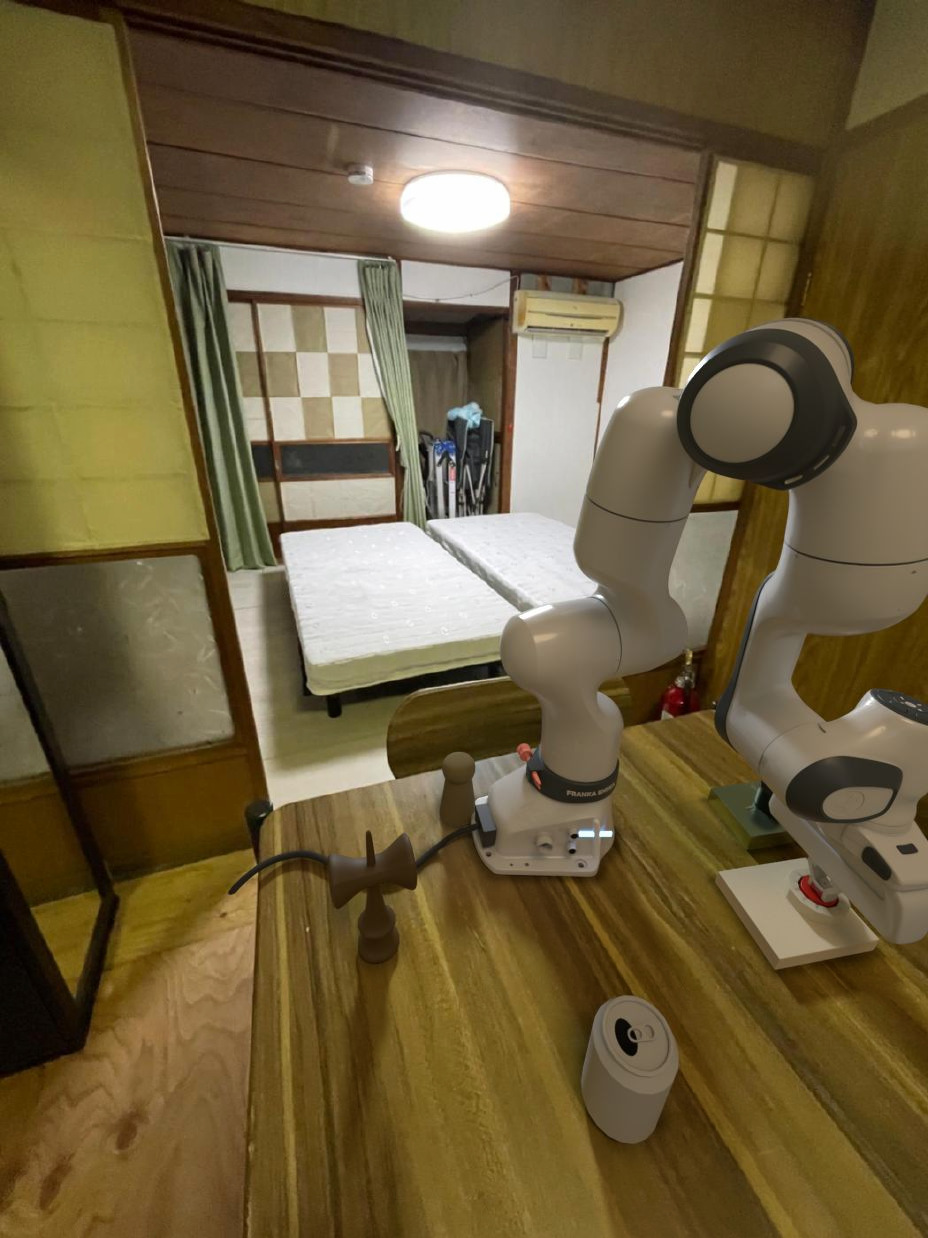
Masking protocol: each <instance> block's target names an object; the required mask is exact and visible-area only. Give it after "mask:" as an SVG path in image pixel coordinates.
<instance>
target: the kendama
mask: <svg viewBox="0 0 928 1238" xmlns="http://www.w3.org/2000/svg"><path fill="white" fill-rule="evenodd" d="M365 855H366V856H363V857H351V856H347V855H343V854H339V853H334V852H331V853H329V854H328V856H327V858H328V861H327V866H326V869H327V880H328V889H329V894H330V898H331V903H332V905H333V907H334V908H335V910H340V909H342V908H343V907H344V906H345V905H347V904H348V903H349V902H350V901H351V900H352V899H353V898H355V896H357V895H358V894H359V893H361V892H363V891H364V890H366V900H365V907H364V910H362V911H361V912H360V913H359V916H358V918H357V929H358V931H359V936H358V938H357V949H358V952H359V955H360V957H361V958H362V959H363V960H364V961H365V962H367V963H371V964H379V963H384V962H385V961H388V960H390V959H391V958H392V957H393V956H394V955H395V954H396V953H397V952H398V949H399V946H400V933H399V930H398V928H397V926H395V925H396V923H397V921H396V920H397V918H396V913H395V910H394V909H393V907H391V906H390V905H389V904H386V901H385V899H384V895H383V892H382V888H381V885H385V884H390V885H394V886H397V887H400V888H403V889H406V890H409V891H414V890H416V889H417V887H418V868H417V869H416V863H415V862H416V857H415V853H414V849H413V845H412V842H411V839H410V837H409V836H408V834H407V833H406V832H402V833H401V834H400V835H399V836H398V837H396V838H395V840H394V841H392V842H391V843H390V845H388V847H386V848H385V849H384V850H383V851H381V852H378V853H375V846H374V840H373V835H372V832H371V830H369V829H368V830H366V831H365Z"/></svg>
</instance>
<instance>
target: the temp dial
mask: <svg viewBox="0 0 928 1238" xmlns="http://www.w3.org/2000/svg"><path fill="white" fill-rule="evenodd" d="M760 781H761V782H760V785H759V787H758V790H757V793H756V796H755V803H756V805H757V806H758V807H759V808H760V809H761V810H763V811H764V812H766V813H768V814H771V812H770V808H769V801H770V799H771V797H772V795H773V792H772V791H771V789H770V788H769V787H768V786H767V785H766V784H765V783H764V782H763V781H762V780H761V779H760ZM771 815H772V814H771Z"/></svg>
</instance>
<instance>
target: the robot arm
mask: <svg viewBox="0 0 928 1238" xmlns="http://www.w3.org/2000/svg"><path fill="white" fill-rule="evenodd" d="M854 376H855V358H854V353H853V350H852V347H851V345H850V342H849V341H848V340H847V338H846V337H845V336H844V334H843V332H841V331H840V330H839V329H838V328H836V327H835V326H833V325H831V324H830V323H829V322H825V321H824V320H821V319H817V318H813V317H785V318H777V319H772V320H767V321H764V322H761V323H759V324H756V325H753V326H752V327H750V328H747V329H746V330H744V331H743V332H741V333H739V334H736V335H734V336H732V337H730V338H728V339H727V340H725V341H723V342H721V343H720V344H718V345H717V346H716V347H714V348H713V349H712V350H711V351H709V352H708V353H707V354H706V355H705V356H704V357H703V358H702V359H701V361H699V362H698V364H696V367H694V369H693V370H692V372H691V373H690V374H689V376H688V378H687V380H686V381H685V383H684V386H683V387H682V388H678V387H672V386H662V385H660V386H658V385H657V386H650V387H645V388H640V389H638V390H635V391H633V392H631V393H629V394H628V395H626V396H625V397H623V399H621V400H620V402H619V403H618V404H617V405H616V407H615V409H614V410H613V412H612V414H611V416H610V418H609V420H608V422H607V425H606V428H605V429H604V432H603V435H602V437H601V440H600V443H599V445H598V448H597V451H596V453H595V456H594V459H593V463H592V466H591V468H590V471H589V475H588V479H587V483H586V487H585V491H584V495H583V500H582V504H581V508H580V512H579V517H578V521H577V525H576V529H575V533H574V537H573V542H572V553H573V558H574V559H575V560H574V561H575V563H576V565H577V567H578V569H579V570H580V571H581V572H582V574H583V575H584V576H585V577H587V578H588V579H589V580H591V581H592V582H594V583H595V584H597V587H596V589H595V591H594V592H593V593H592V594H591V595H590V596H587V597H582V598H575V599H570V600H563V601H556V602H549V603H544V604H539V605H537V606H535V607H532V608H530V609H527V610H525V611H522V612H520V613H517V614H515V615H512V616H511V617H510V618H508V619H507V621H506V623H505V625H504V627H503V629H502V631H501V635H500V638H499V645H498V648H499V657H500V661H501V665H502V667H503V669H504V671H505V673H506V675H507V676H508V677H509V678H510V680H511V681H512V682H513V683H514V684H515V685H516V686H517V687H519V688H520V689H522V690H524V691H525V692H528V693H530V694H531V695H532V696H533V697H535V699H536V700H537V701H538V703H539V706H540V709H541V735H540V736H541V737H540V743H539V744H538V746H537V747H536V749H535V750H534V752H532V750H531V746H530V745H529V744H528V743H520V744H519V745H518V746H517V748H516V752H517V755H519V759H520V760H521V761H522V762H526V763H525V764H523V765H522V766H520V767H518V768H517V769H515V770H513V771H511V772H509V773H508V774H506V775H505V776H503V777H501V778H499V779H497V780H496V781H495V782H493V783H492V785H491V786H490V787H489V791H488V793H487V795H484V796H481V797H478V798H477V799H475V812H474V813H473V814H472V815H471V822H470V824H468V825H466V826H463V827H461V828H459V829H458V828H457V829H456V830H453V831H452V832H450V833H449V834H447V835H446V836H444V837H443V838H442V839H441V840H439V842H437V843H436V844H434V845H433V846H432V847H430V848H429V849H428V850H427V851H426V852H425V853H424V854H422V855H421V856H420V857H419V858H418V859H417V860H415V863H416V869H417V870H418V869H419V868H420V867H422V865H423V864H424V863H426V862H427V861H428V860H429V859H430V858H431V857H433V856H434V855H435V854H436V853H438V852H439V851H441V850H442V849H443V848H444V847H445V846H447V845H448V844H449V843H450V842H452V841H453V840H455V839H457V838H459V837H461V836H464V835H467V834H468V833H471V836H472V839H473V844H474V847H475V849H476V853H477V854H478V856H479V858H480V860H481V861H482V863H483V864H484V865H485V866H486V867H487V868H488V870H490V871H491V872H492V873H493V874H495V875H505V876H507V875H509V876H510V875H511V876H543V877H544V876H546V877H547V876H548V877H579V878H580V877H582V878H583V877H584V878H591V877H595V876H596V875H597V874H598V873H599V869H600V864H601V860H602V859H603V858H604V856H605V855H606V854H607V853H608V852H609V851H610V849H611V848H612V846H613V844H614V841H615V835H616V831H615V826H614V819H613V794H614V793H613V792H614V791H615V789H616V787H617V782H618V779H619V778H618V777H619V772H620V759H619V754H620V749H621V743H622V738H623V732H624V727H625V723H624V719H623V718H624V717H623V715H622V712H621V710H620V708H619V706H618V705H617V704H616V702H615V701H614V700H612V699H611V698H610V697H609V696H607V695H606V694H604V693H602V692H600V691H599V688H600V687H601V685H602V684H603V683H604V682H607V681H609V680H613V679H619V678H623V677H628V676H633V675H638V674H641V673H646V672H649V671H652V670H654V669H656V668H658V667H661V666H663V665H665V664H667V663H669V662H670V661H672V660H674V659H676V658H678V657H679V656H681V654H682V653H683V651H684V650H685V647H686V645H687V640H688V636H689V635H688V634H689V629H688V621H687V618H686V615H685V612H684V610H683V609H682V606H681V605H680V604H679V603H678V602H677V600H675V598H673V597H672V596H671V594H670V588H669V581H670V574H671V573H670V572H671V568H672V565H673V563H674V559H675V556H676V553H677V549H678V547H679V544H680V541H681V538H682V535H683V533H684V530H685V527H686V524H687V521H688V519H689V515H690V513H691V510H692V507H693V505H694V502H695V499H696V496H697V494H698V490H699V488H700V486H701V484H702V482H703V480H704V479H705V476H706V474H707V473H708V472H710V473H712V474H715V475H718V476H722V477H725V478H729V479H733V480H739V481H745V482H748V483H749V482H750V483H753V484H755V485H758V486H762V487H765V488H769V489H772V490H775V491H778V492H779V491H780V492H786V491H788V510H787V511H788V514H787V518H786V526H785V531H784V537H783V538H784V539H783V544H782V549H781V554H780V558H779V561H778V563H777V566H776V569H775V570H773V571H771V572H770V573H769V574H768V575H767V576H766V577H765V578H764V579H763V581H762V582H761V583H760V585H759V587H758V589H757V590H756V592H755V595H754V598H753V600H752V603H751V606H750V609H749V612H748V615H747V619H746V623H745V627H744V631H743V634H742V638H741V641H740V645H739V649H738V653H737V657H736V660H735V664H734V667H733V670H732V674H731V677H730V679H729V681H728V683H727V685H726V688H725V690H724V691H723V693H722V694H721V697H720V698H719V699H718V702H717V705H716V708H715V711H714V715H713V716H714V717H713V722H714V723H713V724H714V728H715V730H716V732H717V735H718V736H719V737H720V738H721V739H722V741H724V742H725V743H726V744H727V745H728V746H729V747H730V748H731V749H732V750H733V751H734V752H735V753H736V754H738V755H739V756H740V757H741V758H742V759H743V761H744V762H745V763H746V764H747V765H748V766H749V768H750V769H751V770H752V771H753V773H754V774H755V775H757V777H758V778H759V779H760V781H761V780H762V781H763V782H764V783H765V784H766V785H767V786H768V787H769V788H770V789H771V791H772V792H773V795H772V797H771V799H770V801H769V808H770V812H771V814H772V815H773V816H774V817H775V818H776V820H777V821H778V822H779V823H780V824H781V825H782V826H783V827H784V828H785V829H786V831H787V832H788V833H789V834H790V835H791V836H792V837H793V838H794V839H795V841H796V843H797V844H798V845H799V846H800V848H801V849H802V850H803V851H804V852H805V853H806V854H807V855H808V856H807V860H808V865H809V871H810V874H811V875H810V878H809V880H808V884H809V885H810V886H811V887H812V888H813V890H814V891H815V892H816V893H817V894H818V895H819V897H820V898H821V899H822V900H823V901H824V902H825V903H826V902H832V901H834V900H836V898H837V896H838V894H839V893H842V892H843V894H844V895H845V896H846V897H847V898H848V899H849V902H850V903H851V904H852V905H853V906H854V908H856V909H857V911H859V913H860V914H861V915H862V916H863V917H864V918H865V919H866V920H867V921H868V923H870V925H871V926H872V927H873V928H874V929H875V930H876V931H877V932H878V933H879V935H880V936H881V937H882V938H883V939H884V940H885V941H886V942H887V943H890V944H894V945H908V944H912V943H916V942H919V941H921V940H922V939H924V937H925V936H926V935H927V934H928V839H927V838H926V836H925V835H924V833H923V832H922V830H921V828H920V827H919V825H918V824H917V822H916V821H915V818H916V816H917V810H918V809H917V808H918V807H917V805H918V803H919V801H920V800H921V799H922V798H923V797H924V796H926V795H927V794H928V704H925V703H924V702H923V701H920V700H918V699H917V698H916V697H915V698H914V697H912V696H909V695H907V694H905V693H902V692H899V691H896V690H892V689H887V688H872V689H869V690H867V692H866V693H865V694H863V696H862V698H861V699H860V700H859V702H857V704H856V706H855V708H853V710H851V711H850V712H849V713H847V714H845V715H843V716H841V717H839V718H836V719H833V720H830V721H826V720H825V719H824V718H823V717H822V716H820V715H819V714H818V713H817V712H816V711H814V710H813V709H812V708H811V707H809V705H808V704H806V703H805V702H804V701H803V700H802V698H801V697H800V696H799V694H798V693H797V691H796V689H795V687H794V685H793V683H792V676H793V673H794V671H795V668H796V666H797V662H798V660H799V657H800V654H801V651H802V648H803V646H804V644H805V640H806V637H807V636H808V634H812V635H815V636H823V637H848V636H850V637H851V636H858V635H865V634H871V633H876V632H879V631H882V630H885V629H888V628H891V627H893V626H894V625H897V624H898V623H901V622H902V621H903V620H906V619H907V618H909V617H910V616H911V615H912V614H914V613H915V612H916V611H917V610H918V609H919V608H920V606H921V605H922V604H923V602H924V600H925V599H926V597H927V596H928V407H924V406H922V405H917V404H910V403H903V402H885V403H874V402H871V401H867V400H864V399H862V398H860V397H859V396H858V394H856V393H855V392H854V391H853V388H852V384H853V381H854ZM299 858H305V859H310V860H313V861H316V862H318V863H320V864H322V865H324V866H326V867H327V861H328V857H326V856H324V855H322V854H321V853H317V852H315V851H311V850H305V849H304V850H301V849H300V850H290V851H287V852H282V853H279V854H276V855H273V856H271V857H269V858H267V859H265V860H263V861H261V862H259V863H258V864H256V865H255V866H253V867H252V868H250V869H249V870H248V871H247V872H245V873H244V874H243V875H242V876H241V877H240V878H238V880H236V882H234V883H233V885H232V886H231V887H230V888H229V890H228V892H227V894H228V896H233V895H234V894H236V893H237V892H238V891H239V890H240V889H241V888H242V887H243V886H244V885H245V884H246V883H247V882H248V881H249V880H250V879H252V878H253V877H254V876H255V875H256V874H258V873H260V872H261V871H263V870H265V869H266V868H268V867H270V866H273V865H274V864H278V863H280V862H283V861H286V860H293V859H299ZM827 876H828V877H829V878H830V879H831V880H830V881H829V879H828V878H827Z"/></svg>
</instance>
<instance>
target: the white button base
mask: <svg viewBox="0 0 928 1238" xmlns="http://www.w3.org/2000/svg"><path fill="white" fill-rule="evenodd" d="M810 875H811V874H810V871H809V865H808V857H800V858H795V859H789V860H782V861H777V862H776V861H775V862H769V863H763V864H756V865H750V866H745V867H739V868H732V869H727V870H720V871H718V872H717V874H716V877H715V880H714V883H715V884H716V886H717V888H718V889H719V890H720V892H721V894H722V895H723V896H724V899H726V901H727V902H728V904H729V905H730V907H731V908H732V909H733V911H734V912H735V914H736V915H737V917H738V918H739V920H740V921H741V923H742V924H743V926H744V927H745V928H746V930H747V931H748V933H749V935H750V936H751V937H752V939H753V940H754V942H755V943H756V944H757V946H758V948H759V949H760V951H761V953H762V954H763V955H764V957H765V958H766V960H767V961H768V962H769V964H770V965H771V967H772V968H773V970H775V971H777V970H781V969H787V968H791V967H796V966H802V965H807V964H812V963H817V962H822V961H828V960H831V959H836V958H842V957H846V956H851V955H856V954H862V953H866V952H872V951H874V950H875V948H876V947H877V944H878V943H879V942H880V938H879V937H878V936H877V935H876V934H875V933H874V932H873V931H872V929H871V928H870V927H869V926H868V925H867V924H866V922H864V920H863V919H862V918H861V917H860V916H859V915H858V913H856V912H855V911H854V909H853V908H852V907H851V906H852V905H851V901H850V900H849V899H848V898H847V897H846V896H845V895H844V894H843V892H842V893H839V894H838V896H837V900H836V902H835V904H834V906H833V907H831V908H826V907H823V906H819V905H817V904H815V903H813V902H812V901H810V900H809V899H807V898H806V897H805V896H804V894H803V893H802V892H801V891H800V889H799V885H800V883H801V881H802V879H803V878H805V877H810ZM827 878H828V879H829V881H830V880H831V879H830V878H829V877H828V876H827Z"/></svg>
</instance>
